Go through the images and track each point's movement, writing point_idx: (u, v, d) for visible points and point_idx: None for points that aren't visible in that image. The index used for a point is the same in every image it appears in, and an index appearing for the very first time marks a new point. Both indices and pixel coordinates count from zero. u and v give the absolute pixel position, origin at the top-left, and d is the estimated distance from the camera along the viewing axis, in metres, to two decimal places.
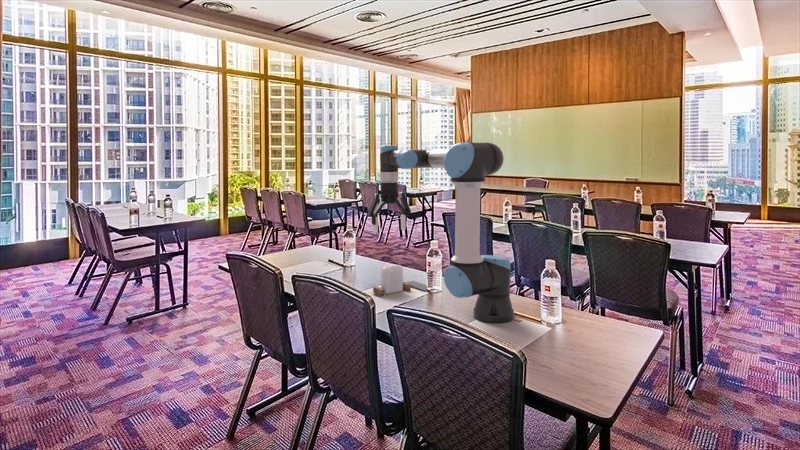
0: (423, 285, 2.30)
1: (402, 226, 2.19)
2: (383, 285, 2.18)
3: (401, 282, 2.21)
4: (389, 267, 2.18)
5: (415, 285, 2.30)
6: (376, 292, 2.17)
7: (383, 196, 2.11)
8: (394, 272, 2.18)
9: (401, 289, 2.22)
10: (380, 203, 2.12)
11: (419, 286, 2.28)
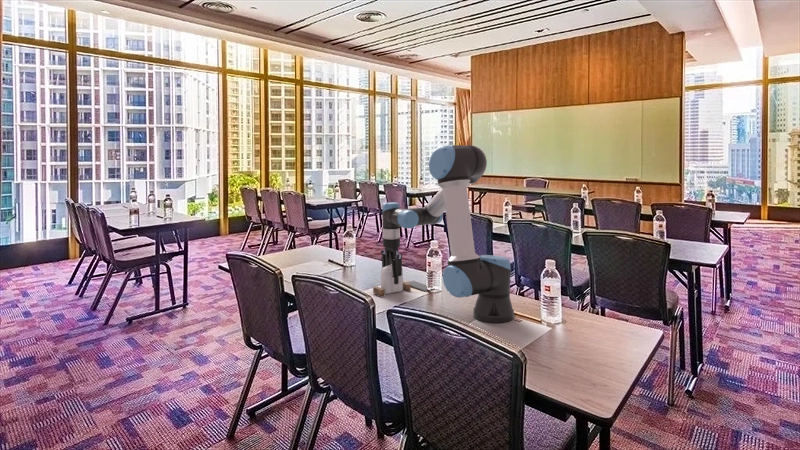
0: (423, 285, 2.30)
1: None
2: (383, 285, 2.18)
3: (401, 282, 2.21)
4: (389, 267, 2.18)
5: (415, 285, 2.30)
6: (376, 292, 2.17)
7: (385, 250, 2.21)
8: None
9: (401, 289, 2.22)
10: None
11: (419, 286, 2.28)
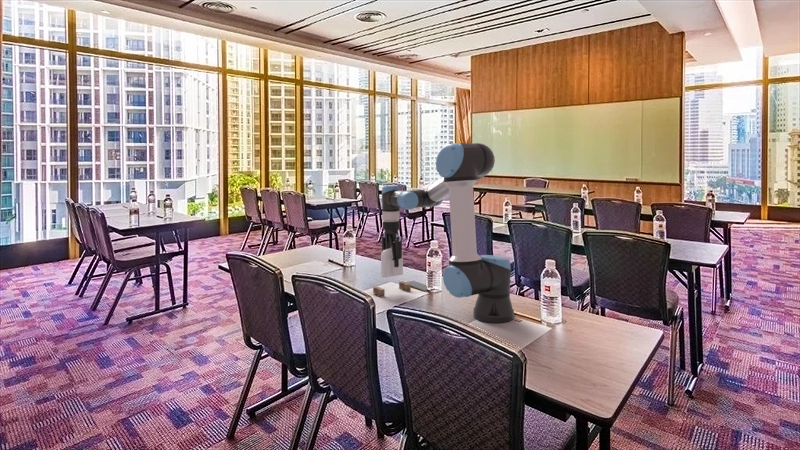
0: (423, 285, 2.30)
1: None
2: (383, 268, 2.16)
3: (401, 265, 2.20)
4: (389, 250, 2.16)
5: (415, 285, 2.30)
6: (376, 292, 2.17)
7: (385, 233, 2.20)
8: None
9: (401, 272, 2.20)
10: None
11: (419, 286, 2.28)
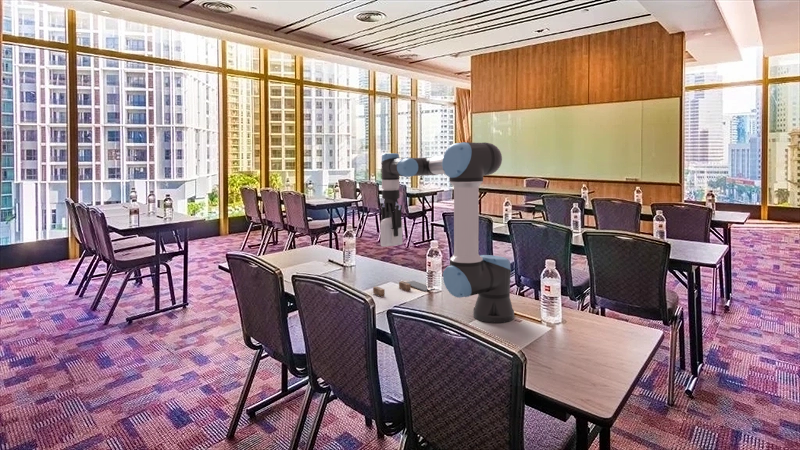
0: (423, 285, 2.30)
1: None
2: (382, 237, 2.14)
3: (401, 235, 2.18)
4: (388, 219, 2.14)
5: (415, 285, 2.30)
6: (376, 292, 2.17)
7: (384, 203, 2.18)
8: None
9: (401, 242, 2.19)
10: None
11: (419, 286, 2.28)
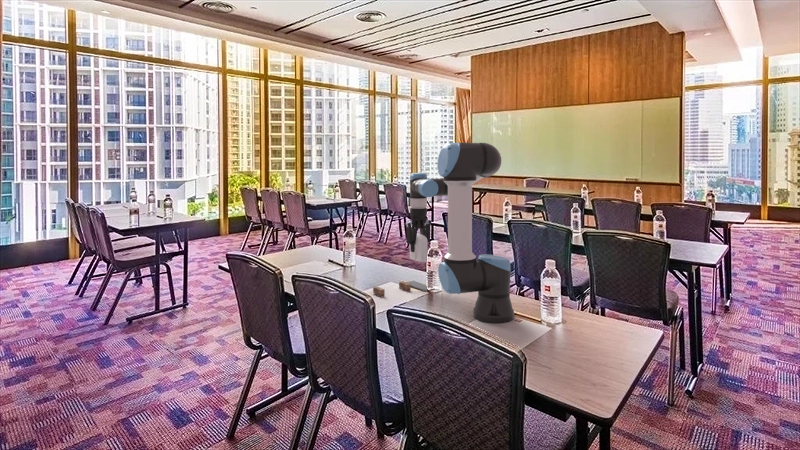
0: (423, 285, 2.30)
1: None
2: (426, 253, 2.24)
3: None
4: (423, 235, 2.26)
5: (415, 285, 2.30)
6: (376, 292, 2.17)
7: (414, 221, 2.23)
8: None
9: None
10: (413, 230, 2.25)
11: (419, 286, 2.28)
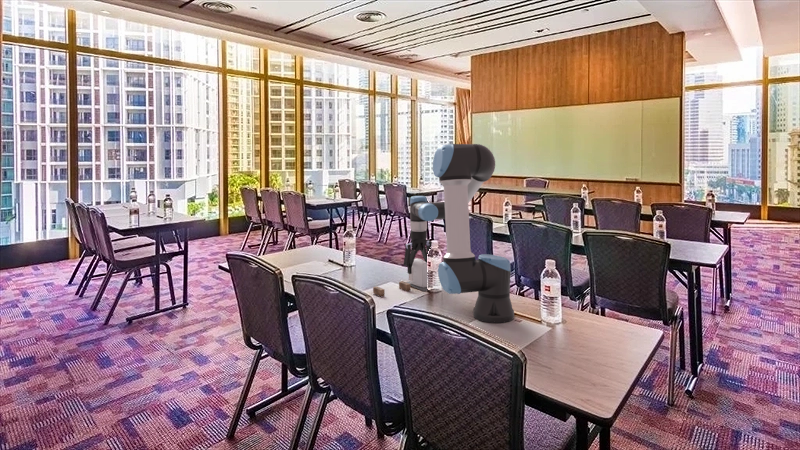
0: None
1: None
2: (426, 278, 2.26)
3: None
4: (423, 260, 2.27)
5: (415, 285, 2.30)
6: (376, 292, 2.17)
7: (414, 244, 2.24)
8: None
9: None
10: (412, 252, 2.26)
11: None
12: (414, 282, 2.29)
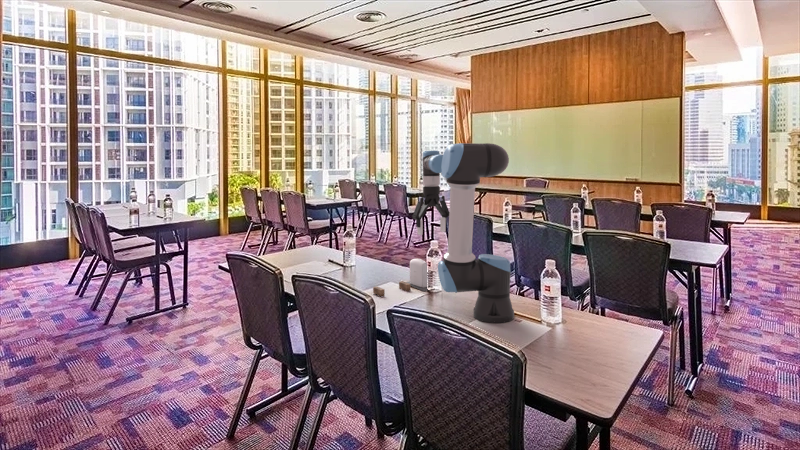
0: None
1: (442, 228, 2.28)
2: (426, 278, 2.26)
3: None
4: (423, 260, 2.27)
5: (415, 285, 2.30)
6: (376, 292, 2.17)
7: (427, 199, 2.19)
8: None
9: None
10: (424, 206, 2.20)
11: None
12: (414, 282, 2.29)
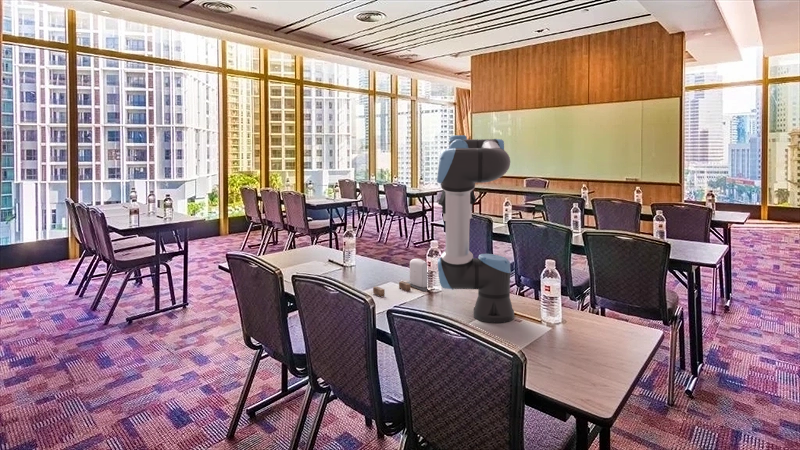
0: None
1: None
2: (426, 278, 2.26)
3: None
4: (423, 260, 2.27)
5: (415, 285, 2.30)
6: (376, 292, 2.17)
7: None
8: None
9: None
10: None
11: None
12: (414, 282, 2.29)
